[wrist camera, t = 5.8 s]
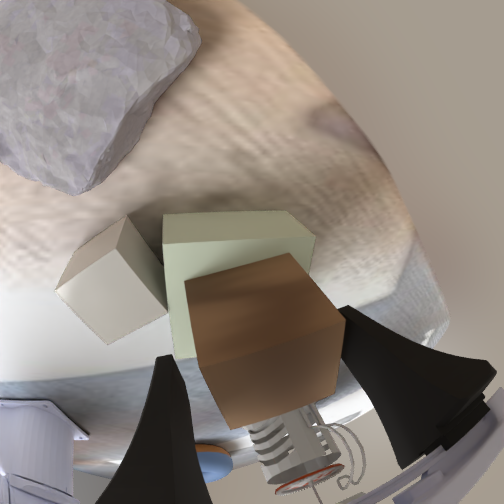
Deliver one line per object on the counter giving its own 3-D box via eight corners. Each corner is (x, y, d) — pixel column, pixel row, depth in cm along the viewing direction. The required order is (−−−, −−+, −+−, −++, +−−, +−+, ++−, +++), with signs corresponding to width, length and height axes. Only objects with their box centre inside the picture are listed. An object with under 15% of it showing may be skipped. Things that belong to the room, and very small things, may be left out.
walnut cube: (209, 352, 15) (230, 430, 10) (184, 281, 12) (199, 367, 8) (294, 327, 16) (334, 393, 11) (289, 252, 13) (345, 319, 9)
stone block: (115, 187, 15) (217, 38, 11) (86, 230, 11) (220, 20, 7) (-15, 111, 9) (57, -31, 5) (-63, 133, 5) (15, -49, 1)
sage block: (171, 314, 18) (175, 359, 14) (162, 212, 14) (162, 244, 11) (271, 303, 20) (293, 342, 16) (284, 208, 16) (316, 236, 13)
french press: (220, 430, 26) (292, 613, 5) (272, 369, 23) (396, 605, 2) (287, 428, 31) (362, 577, 10) (343, 373, 27) (454, 544, 6)
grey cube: (115, 299, 16) (107, 345, 12) (74, 251, 14) (54, 291, 10) (165, 269, 16) (168, 312, 12) (127, 214, 14) (115, 248, 10)
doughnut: (237, 438, 28) (243, 470, 24) (223, 461, 33) (228, 486, 29) (154, 436, 26) (155, 470, 22) (157, 459, 30) (158, 485, 26)
